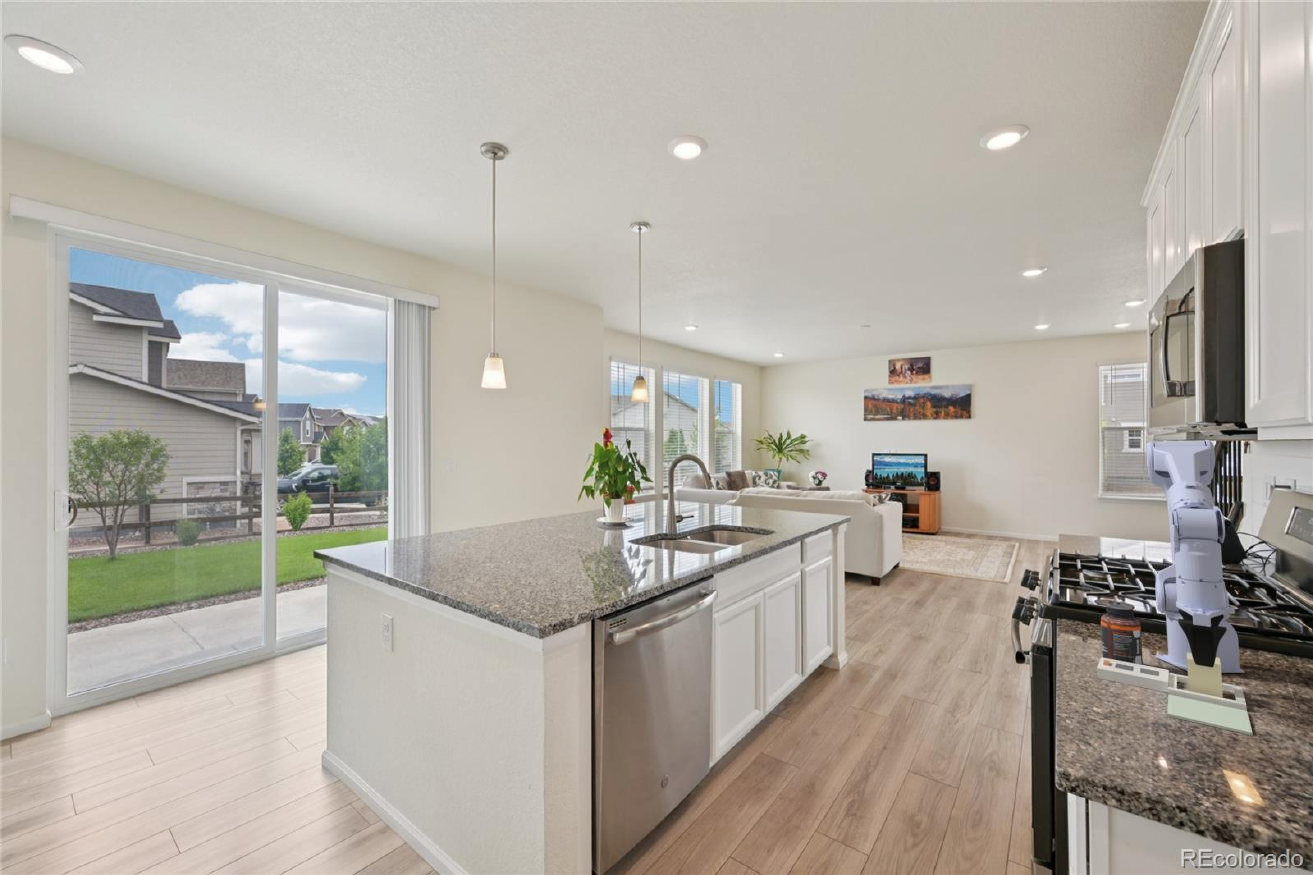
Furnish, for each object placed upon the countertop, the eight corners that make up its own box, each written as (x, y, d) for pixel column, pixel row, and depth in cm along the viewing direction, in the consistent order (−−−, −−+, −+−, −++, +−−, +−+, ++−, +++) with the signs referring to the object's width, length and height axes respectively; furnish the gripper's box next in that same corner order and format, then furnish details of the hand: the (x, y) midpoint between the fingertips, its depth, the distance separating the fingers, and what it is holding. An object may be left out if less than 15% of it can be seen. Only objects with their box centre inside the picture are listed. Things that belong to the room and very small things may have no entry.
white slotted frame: (1242, 692, 92) (1241, 679, 92) (1246, 711, 86) (1245, 697, 86) (1102, 665, 105) (1101, 653, 105) (1096, 679, 99) (1096, 667, 99)
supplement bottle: (1151, 672, 101) (1148, 611, 102) (1114, 670, 103) (1111, 610, 103) (1130, 660, 107) (1127, 602, 108) (1095, 658, 108) (1093, 601, 109)
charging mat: (1168, 696, 91) (1168, 694, 91) (1247, 713, 85) (1247, 711, 85) (1167, 715, 85) (1167, 713, 85) (1252, 735, 79) (1252, 732, 79)
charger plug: (1221, 693, 92) (1219, 657, 92) (1223, 701, 89) (1220, 664, 90) (1188, 687, 95) (1186, 652, 95) (1189, 694, 92) (1187, 658, 92)
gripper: (1236, 590, 85) (1241, 678, 84) (1230, 574, 95) (1234, 653, 95) (1173, 583, 90) (1178, 666, 89) (1174, 569, 100) (1178, 644, 100)
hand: (1203, 659), depth 92 cm, fingers open, 7 cm apart
